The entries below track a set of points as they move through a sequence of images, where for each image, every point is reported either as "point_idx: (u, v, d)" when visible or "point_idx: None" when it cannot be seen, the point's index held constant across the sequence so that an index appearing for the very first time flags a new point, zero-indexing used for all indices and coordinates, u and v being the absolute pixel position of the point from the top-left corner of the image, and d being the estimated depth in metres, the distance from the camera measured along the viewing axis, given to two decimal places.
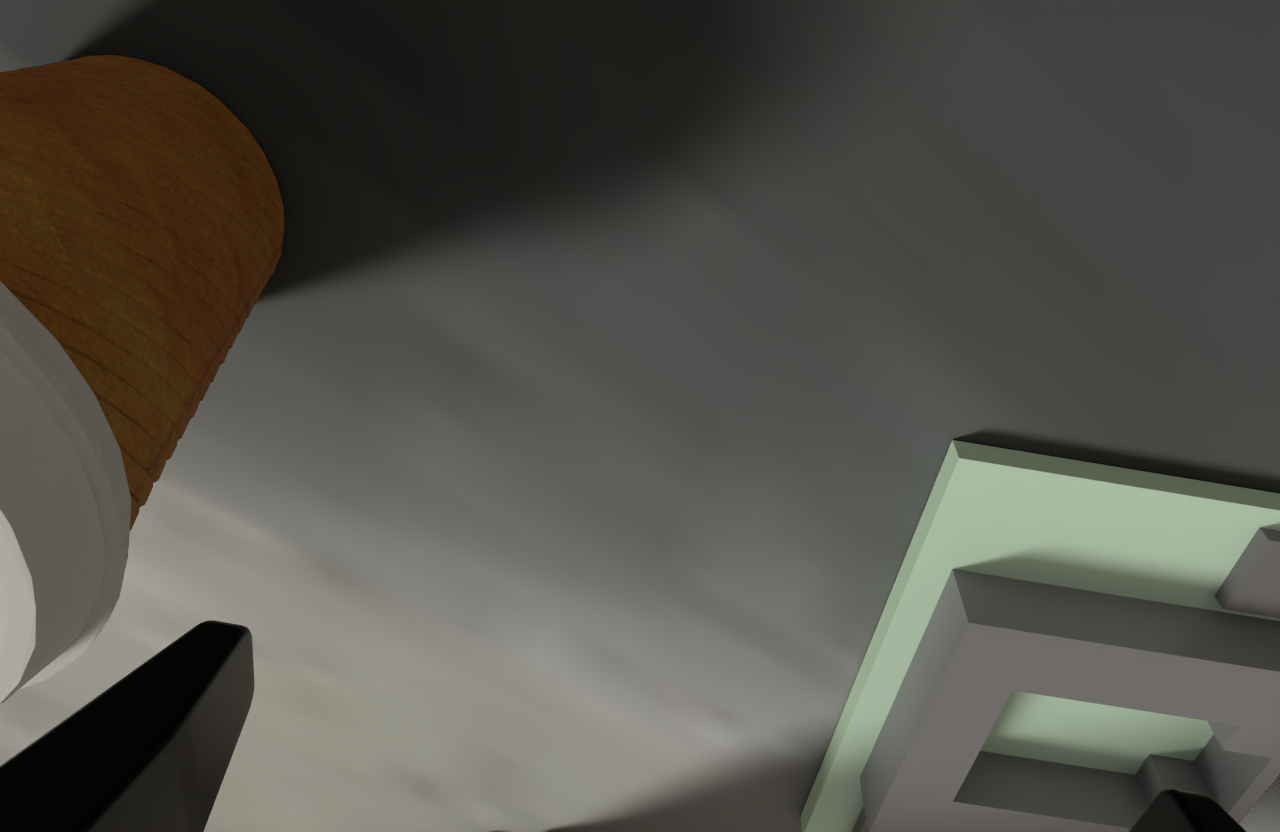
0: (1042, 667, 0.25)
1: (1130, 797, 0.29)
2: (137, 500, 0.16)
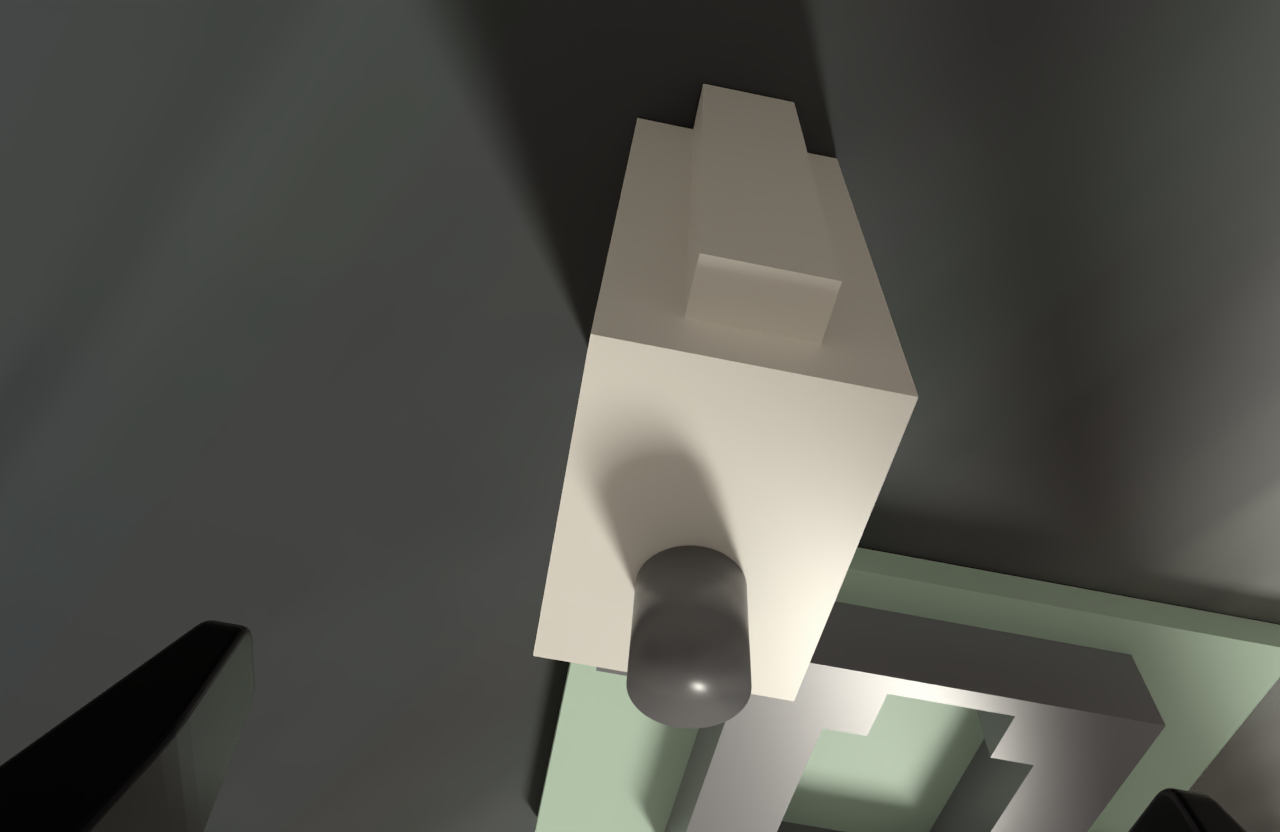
0: None
1: None
2: None
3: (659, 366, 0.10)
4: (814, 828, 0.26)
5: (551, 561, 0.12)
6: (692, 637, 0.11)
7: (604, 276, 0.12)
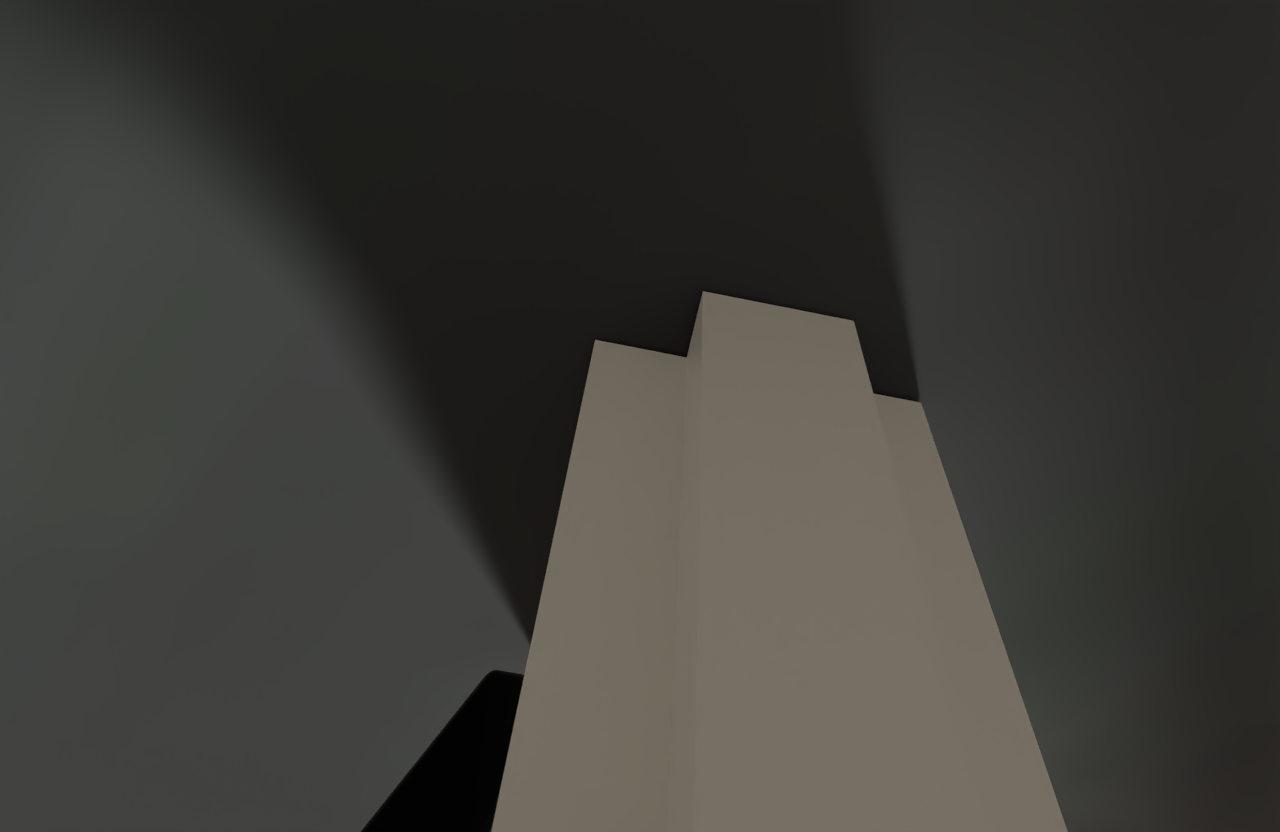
0: None
1: None
2: None
3: None
4: None
5: None
6: None
7: None
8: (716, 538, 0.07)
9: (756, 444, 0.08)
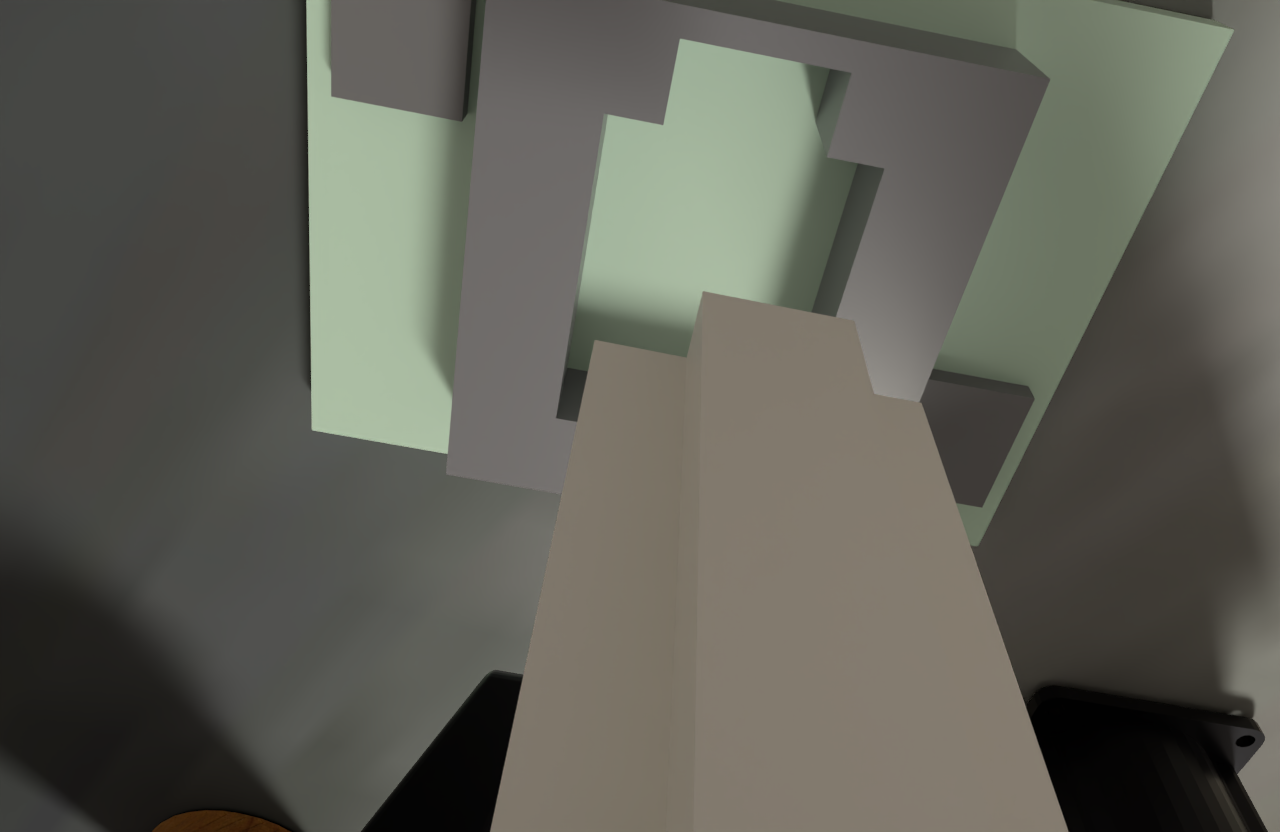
0: (510, 392, 0.19)
1: (866, 173, 0.18)
2: None
3: None
4: None
5: None
6: None
7: None
8: (716, 539, 0.07)
9: (756, 445, 0.08)
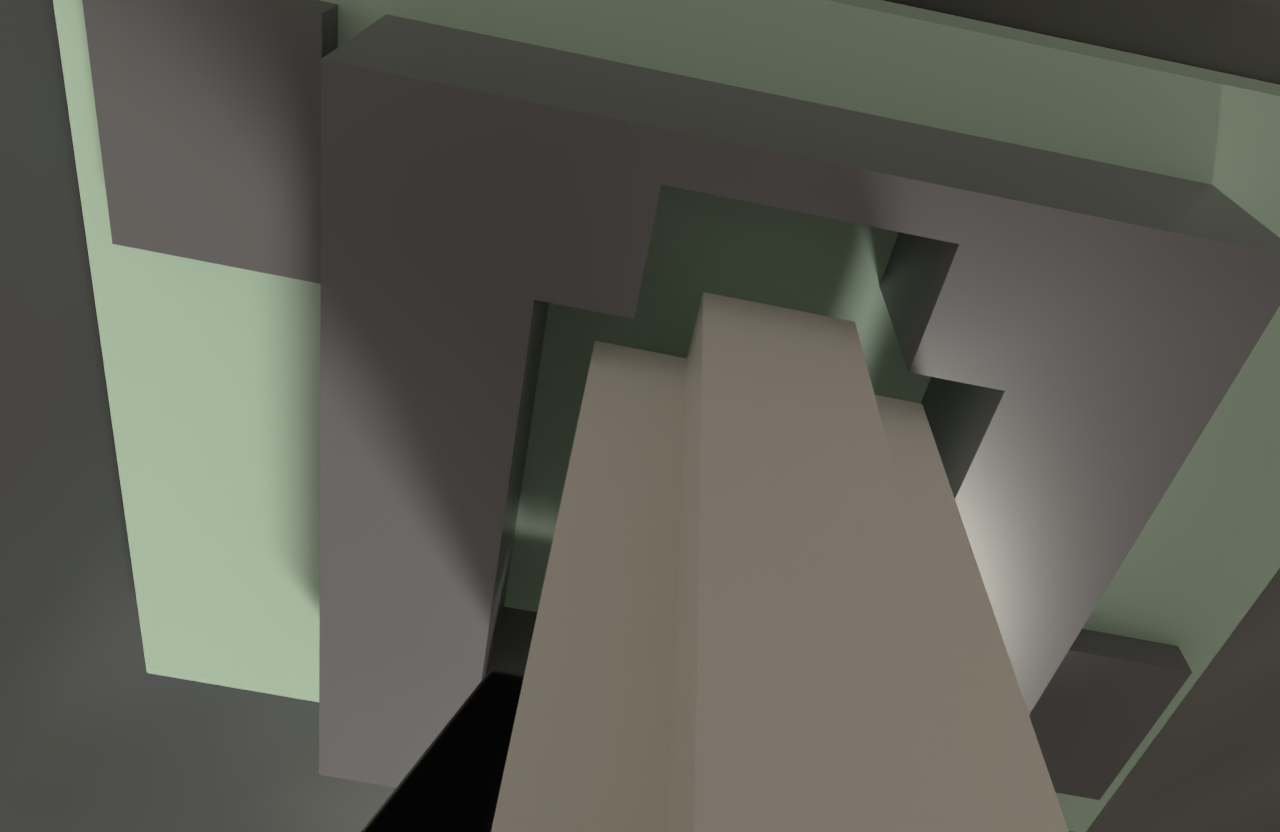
0: (406, 679, 0.13)
1: None
2: None
3: None
4: None
5: None
6: None
7: None
8: (717, 541, 0.07)
9: (757, 446, 0.08)
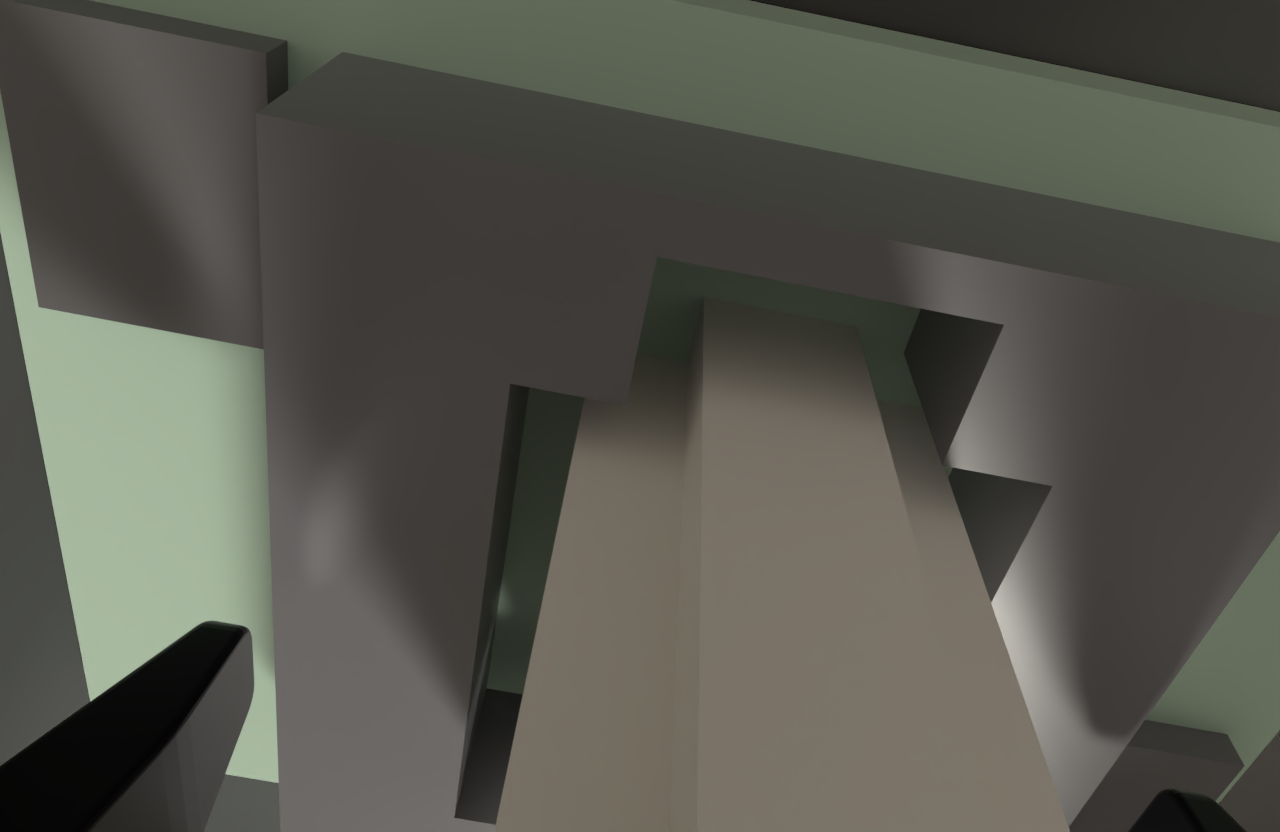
0: (374, 782, 0.11)
1: None
2: None
3: None
4: None
5: None
6: None
7: None
8: (719, 549, 0.07)
9: (759, 452, 0.08)
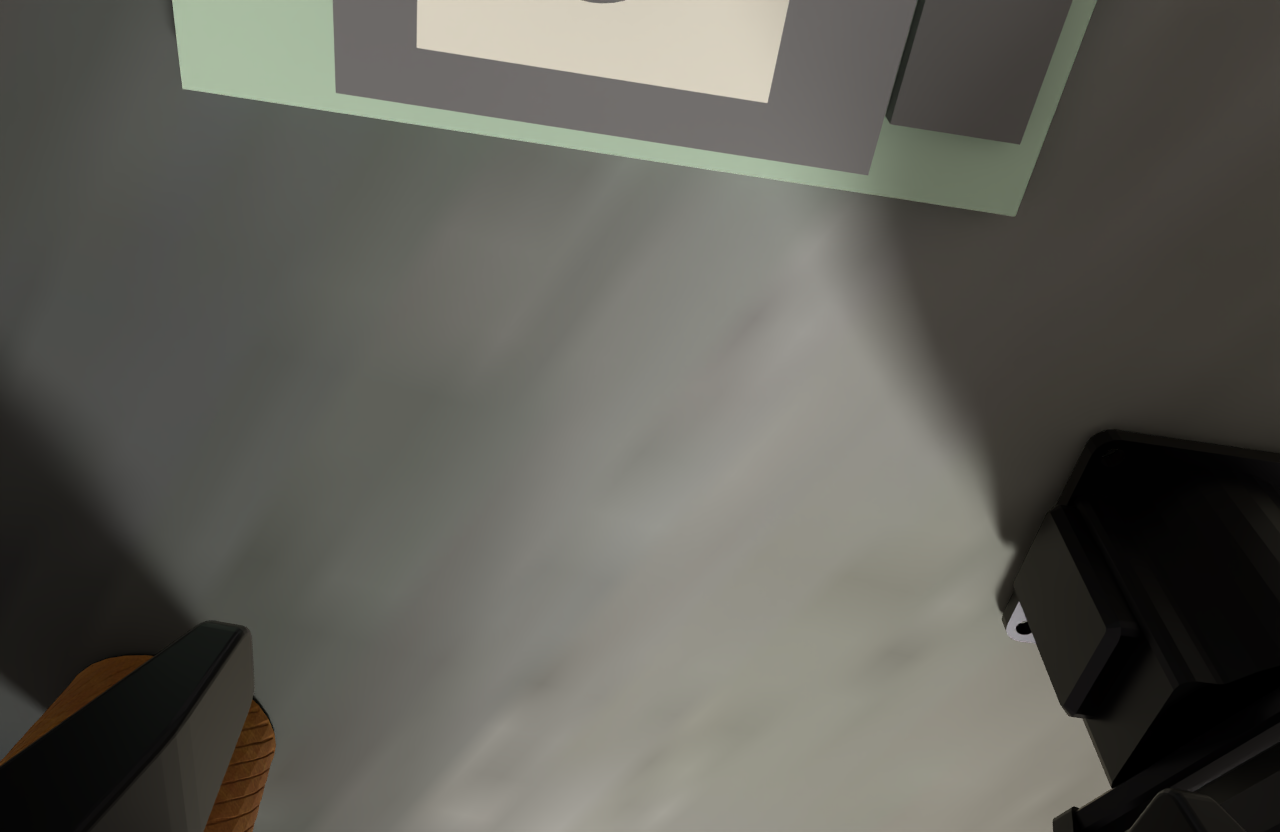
0: None
1: None
2: None
3: None
4: None
5: None
6: None
7: None
8: None
9: None
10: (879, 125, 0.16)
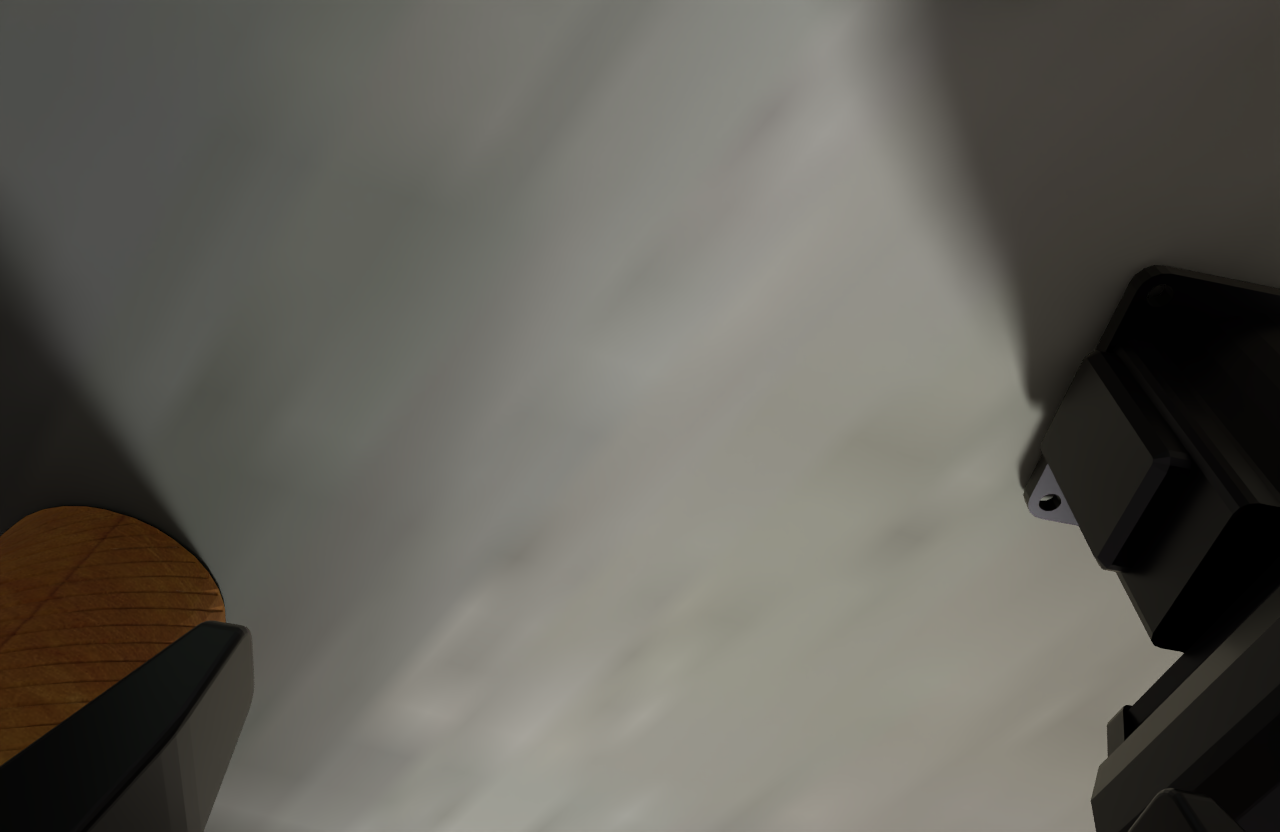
0: None
1: None
2: None
3: None
4: None
5: None
6: None
7: None
8: None
9: None
10: None
